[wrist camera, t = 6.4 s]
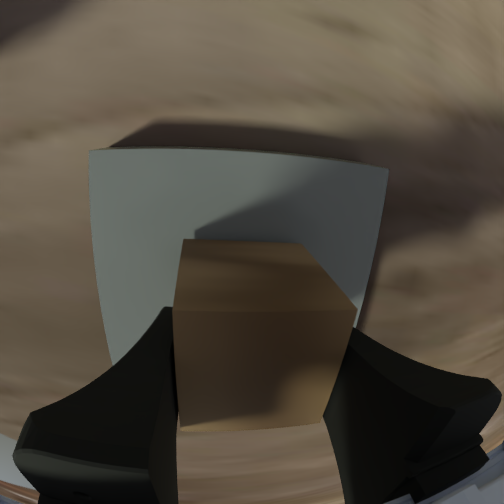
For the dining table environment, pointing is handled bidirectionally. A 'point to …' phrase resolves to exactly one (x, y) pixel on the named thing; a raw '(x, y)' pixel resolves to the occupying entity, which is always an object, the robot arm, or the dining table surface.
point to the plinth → (221, 219)
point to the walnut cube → (255, 335)
